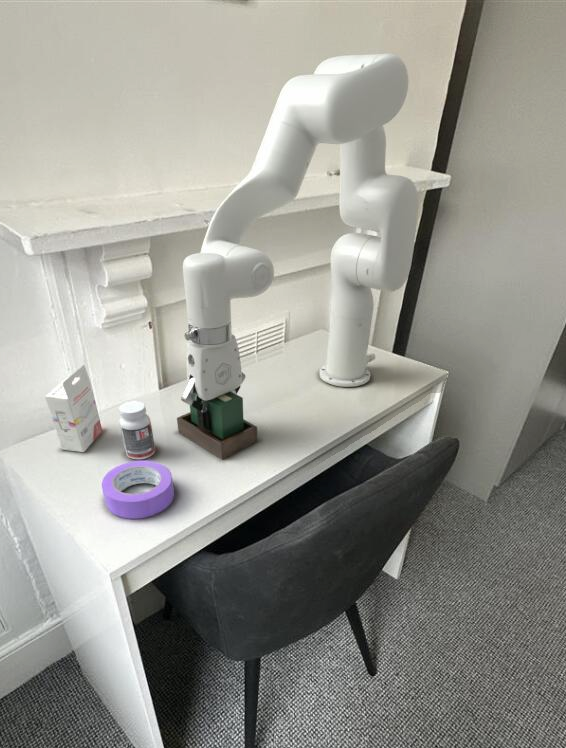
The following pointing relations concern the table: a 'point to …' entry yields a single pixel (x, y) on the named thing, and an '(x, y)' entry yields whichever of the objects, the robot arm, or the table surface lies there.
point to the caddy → (214, 442)
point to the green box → (223, 415)
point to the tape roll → (142, 502)
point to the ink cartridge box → (74, 412)
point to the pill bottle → (136, 430)
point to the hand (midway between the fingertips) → (217, 421)
